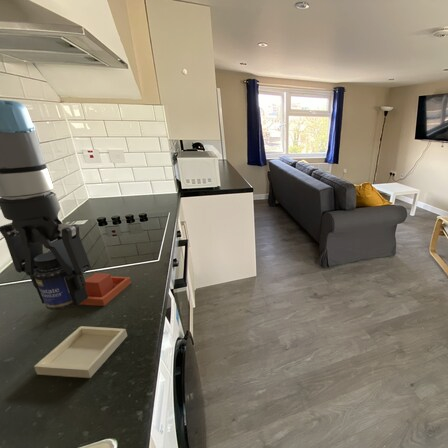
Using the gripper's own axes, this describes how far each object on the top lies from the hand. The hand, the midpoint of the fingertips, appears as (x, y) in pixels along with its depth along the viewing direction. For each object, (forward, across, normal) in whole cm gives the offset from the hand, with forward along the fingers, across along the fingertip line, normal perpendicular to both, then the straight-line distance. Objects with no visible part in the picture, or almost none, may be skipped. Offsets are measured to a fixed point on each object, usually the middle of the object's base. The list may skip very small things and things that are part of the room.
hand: (65, 300), depth 55 cm
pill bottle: (+1, 0, 0) cm, 1 cm away
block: (+14, +13, -22) cm, 29 cm away
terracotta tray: (+14, +13, -22) cm, 29 cm away
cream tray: (+14, -1, 0) cm, 14 cm away
